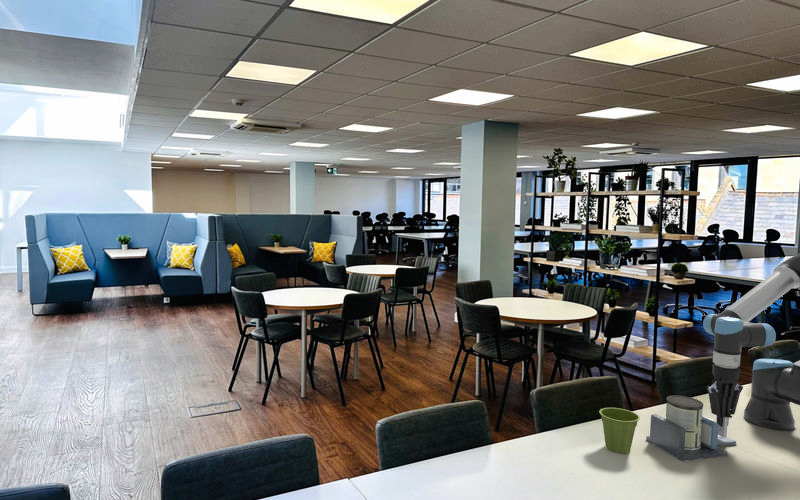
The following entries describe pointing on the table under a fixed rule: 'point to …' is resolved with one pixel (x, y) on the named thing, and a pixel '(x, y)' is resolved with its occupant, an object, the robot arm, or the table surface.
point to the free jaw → (709, 433)
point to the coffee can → (686, 418)
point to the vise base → (681, 440)
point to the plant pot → (618, 428)
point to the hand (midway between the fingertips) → (721, 435)
